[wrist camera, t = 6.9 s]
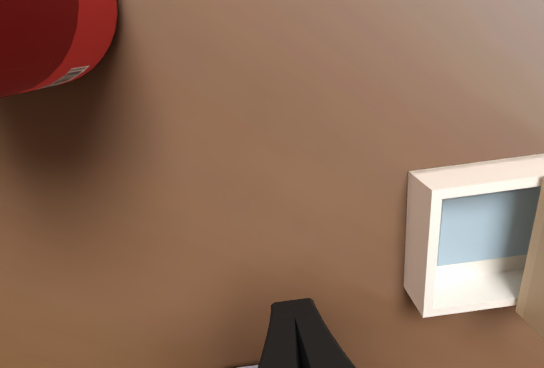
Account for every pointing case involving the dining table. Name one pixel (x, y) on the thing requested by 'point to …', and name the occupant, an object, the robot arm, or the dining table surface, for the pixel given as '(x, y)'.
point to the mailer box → (470, 233)
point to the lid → (534, 275)
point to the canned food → (52, 41)
